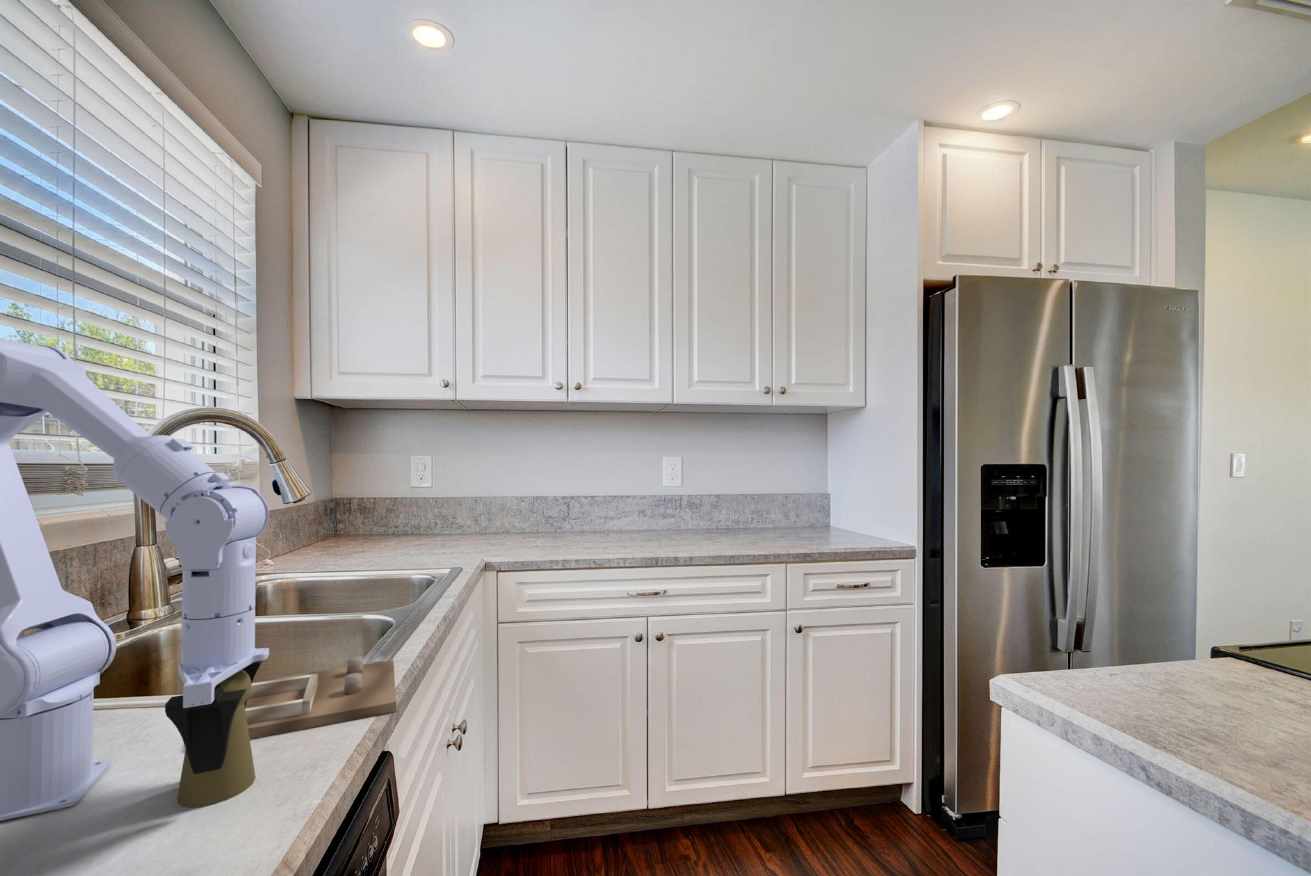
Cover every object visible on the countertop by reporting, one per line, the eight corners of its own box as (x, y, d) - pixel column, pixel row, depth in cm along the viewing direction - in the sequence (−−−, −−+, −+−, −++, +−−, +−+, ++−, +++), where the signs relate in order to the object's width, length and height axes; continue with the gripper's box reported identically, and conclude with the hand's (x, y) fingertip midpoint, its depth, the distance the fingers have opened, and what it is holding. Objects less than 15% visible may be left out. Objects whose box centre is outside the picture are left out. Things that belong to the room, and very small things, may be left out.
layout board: (196, 748, 62) (196, 719, 62) (230, 693, 77) (230, 669, 77) (396, 711, 71) (396, 685, 71) (393, 667, 85) (393, 646, 85)
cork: (162, 812, 51) (164, 689, 52) (196, 775, 57) (198, 665, 57) (239, 800, 53) (241, 681, 53) (265, 766, 59) (266, 659, 59)
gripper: (254, 625, 51) (252, 779, 50) (280, 590, 64) (278, 712, 63) (152, 637, 48) (150, 801, 47) (201, 597, 61) (200, 726, 60)
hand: (217, 751), depth 55 cm, fingers open, 6 cm apart
